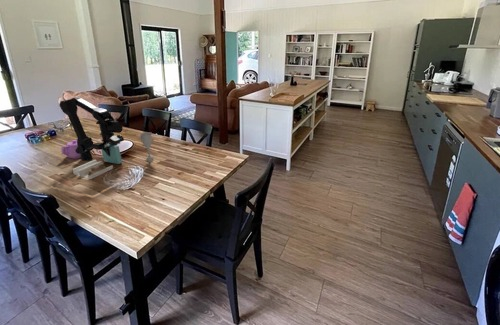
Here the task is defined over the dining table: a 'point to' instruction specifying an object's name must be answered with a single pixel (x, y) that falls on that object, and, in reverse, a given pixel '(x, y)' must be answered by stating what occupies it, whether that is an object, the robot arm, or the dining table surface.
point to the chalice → (147, 143)
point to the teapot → (71, 150)
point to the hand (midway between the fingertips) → (111, 155)
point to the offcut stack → (96, 169)
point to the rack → (87, 167)
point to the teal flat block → (112, 154)
